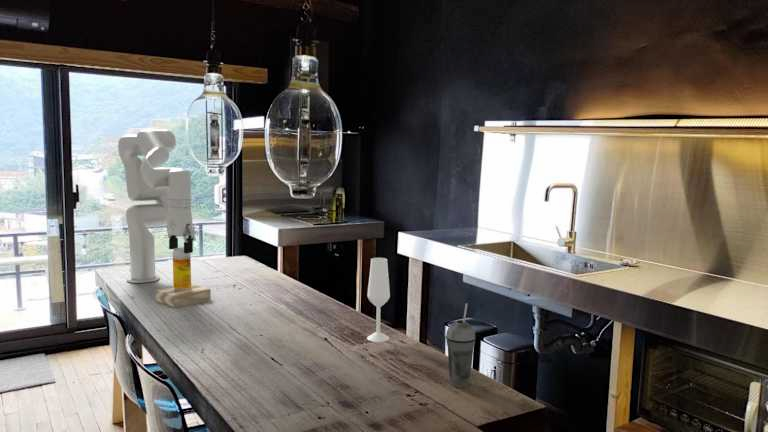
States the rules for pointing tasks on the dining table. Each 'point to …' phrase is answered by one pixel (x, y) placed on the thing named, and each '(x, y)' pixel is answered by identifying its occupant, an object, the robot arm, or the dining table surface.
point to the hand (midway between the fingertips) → (180, 250)
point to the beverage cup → (460, 351)
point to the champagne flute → (378, 292)
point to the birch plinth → (182, 296)
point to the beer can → (181, 270)
